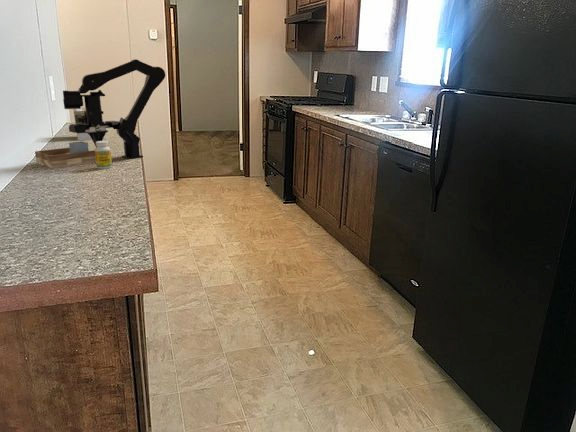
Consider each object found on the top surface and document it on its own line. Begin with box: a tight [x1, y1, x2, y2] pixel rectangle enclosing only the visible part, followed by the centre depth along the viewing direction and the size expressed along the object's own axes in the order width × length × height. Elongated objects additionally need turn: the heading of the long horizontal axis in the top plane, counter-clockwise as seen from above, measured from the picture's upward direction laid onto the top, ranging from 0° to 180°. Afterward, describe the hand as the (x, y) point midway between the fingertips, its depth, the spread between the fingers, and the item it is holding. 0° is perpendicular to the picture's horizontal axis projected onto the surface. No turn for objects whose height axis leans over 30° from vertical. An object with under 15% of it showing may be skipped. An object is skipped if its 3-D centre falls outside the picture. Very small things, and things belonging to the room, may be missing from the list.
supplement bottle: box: [94, 140, 113, 170], centre depth 172 cm, size 5×5×10 cm
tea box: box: [73, 107, 92, 141], centre depth 240 cm, size 15×10×15 cm, turn 25°
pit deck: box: [34, 147, 96, 169], centre depth 182 cm, size 14×20×4 cm
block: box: [68, 140, 90, 153], centre depth 181 cm, size 5×5×5 cm
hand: (98, 148), depth 187 cm, fingers closed
